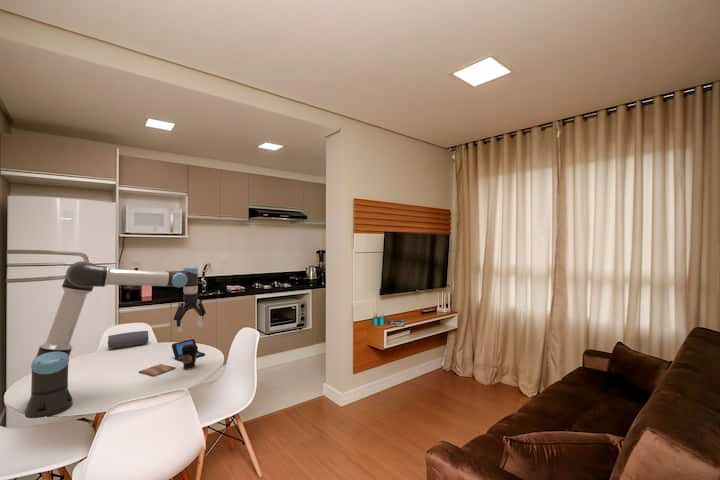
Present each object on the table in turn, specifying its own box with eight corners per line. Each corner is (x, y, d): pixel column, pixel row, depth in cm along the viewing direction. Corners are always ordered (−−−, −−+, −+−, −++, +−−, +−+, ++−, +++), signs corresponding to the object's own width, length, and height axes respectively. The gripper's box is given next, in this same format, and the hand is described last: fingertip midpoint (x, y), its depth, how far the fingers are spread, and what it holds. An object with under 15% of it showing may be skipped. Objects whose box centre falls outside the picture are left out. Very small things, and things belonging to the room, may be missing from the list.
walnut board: (154, 376, 180) (154, 375, 180) (138, 372, 185) (138, 371, 185) (175, 368, 192) (175, 367, 192) (160, 365, 197) (160, 363, 197)
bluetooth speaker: (146, 342, 243) (146, 328, 243) (148, 345, 236) (148, 331, 236) (107, 348, 228) (108, 333, 228) (108, 351, 221) (108, 336, 221)
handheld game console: (182, 362, 203) (183, 347, 203) (170, 358, 209) (170, 344, 209) (206, 355, 216) (206, 341, 216) (193, 352, 223) (194, 338, 223)
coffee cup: (190, 371, 189) (190, 348, 189) (177, 369, 191) (178, 347, 191) (200, 365, 198) (200, 343, 198) (188, 364, 199) (188, 342, 199)
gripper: (175, 296, 182) (175, 335, 182) (212, 290, 205) (212, 325, 205) (166, 295, 185) (166, 333, 185) (203, 290, 208) (203, 323, 208)
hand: (190, 329), depth 195 cm, fingers open, 13 cm apart
